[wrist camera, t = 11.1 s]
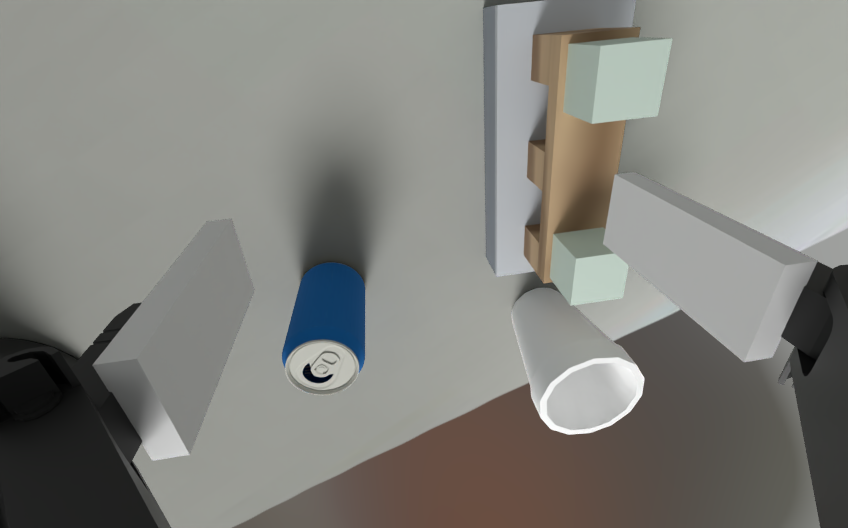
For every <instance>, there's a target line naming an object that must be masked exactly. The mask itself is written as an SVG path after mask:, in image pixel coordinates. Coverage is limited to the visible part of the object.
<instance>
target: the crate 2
mask: <svg viewBox="0 0 848 528" xmlns="http://www.w3.org/2000/svg"><path fill="white" fill-rule="evenodd" d="M604 235H605V229H604V228H603V227H601V228H594V229H586V230H579V231H571V232H564V233H556V234H553V243H552V255H551V267H550V279H551V280H552V281H553V283H554V284H555V285H556V287H557V288H558V289H559V291H560V292H561V293H562V295H563V296H564V298H565V299H566V300H567V302H568V303H569V304H570V306H572V305H579V304H586V303H593V302H600V301H606V300H613V299H620V298H623V293H624V288H625V283H626V278H627V272H628V267H629V265H628V264H626V263H625V262H624V261H623V260H622V259H621V258H619V257H618V256H617V255H616V254H615V253H613V252H612V251H611V250H610V249H609V248H607V247H606V246H605V245H604V244H603V241H604Z"/></svg>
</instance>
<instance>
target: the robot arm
mask: <svg viewBox="0 0 848 528" xmlns="http://www.w3.org/2000/svg"><path fill="white" fill-rule="evenodd" d="M603 244H604V245H605V246H606V247H607V248H609V249H610V250H611V251H612V252H613V253H615V254H616V255H617V256H618V257H619V258H621V259H622V260H623V261H624V262H625V263H626V264H628V265H629V266H630V267H631V268H632V269H634V270H635V271H636V272H637V273H638V274H640V275H641V276H642V277H643V278H644V279H646V280H647V281H648V282H649V283H650V284H652V285H653V286H654V287H655V288H656V289H657V290H659V291H660V292H661V293H662V294H663V295H665V296H666V297H667V298H668V299H669V300H671V301H672V302H673V303H674V304H675V305H677V306H678V307H679V308H680V309H681V310H683V311H684V312H685V313H686V314H687V315H689V316H690V317H691V318H692V319H693V320H694V321H696V322H697V323H698V324H699V325H701V326H702V327H703V328H704V329H705V330H707V331H708V332H709V333H710V334H711V335H712V336H714V337H715V338H716V339H717V340H718V341H719V342H721V343H722V344H723V345H724V346H725V347H727V348H728V349H729V350H730V351H732V352H733V353H734V354H735V355H736V356H737V357H739V358H740V359H741V360H742V361H743V362H748V361H754V360H760V359H766V358H772V357H773V355H774V353H775V350H776V349H777V346H778V344H779V342H780V340H781V338H782V337H783V338H784V339H785V340H787V341H788V342H790V343H791V344H792V345H794V346H795V347H794V349H793V351H792V353H791V355H790V357H789V359H788V361H787V363H786V365H785V367H784V369H783V371H782V373H781V375H780V377H779V380H778V383H779V384H782V385H783V384H784V383H785V381H786V379H788V378H791V377H792V378H793V385H792V387H793V388H795V394H796V398H797V404H798V410H799V415H800V421H801V426H802V431H803V437H804V442H805V447H806V453H807V458H808V463H809V468H810V474H811V479H812V485H813V490H814V495H815V501H816V506H817V511H818V517H819V522H820V527H821V528H848V265H840V266H838V267H835V268H834V269H832V268H830V267H828V266H826V265H823V264H822V263H819V262H818V261H817V260H815V259H813V258H811V257H809V256H807V255H805V254H803V253H801V252H799V251H797V250H795V249H793V248H791V247H788V246H786V245H784V244H782V243H780V242H778V241H776V240H774V239H772V238H770V237H768V236H766V235H764V234H762V233H760V232H758V231H756V230H753V229H751V228H749V227H747V226H745V225H743V224H741V223H739V222H737V221H735V220H733V219H731V218H729V217H727V216H725V215H723V214H721V213H719V212H716V211H714V210H712V209H710V208H708V207H706V206H704V205H702V204H700V203H698V202H696V201H694V200H692V199H690V198H688V197H686V196H684V195H681V194H679V193H677V192H675V191H673V190H671V189H669V188H667V187H665V186H663V185H661V184H659V183H657V182H655V181H653V180H651V179H649V178H647V177H644V176H642V175H640V174H638V173H636V172H630V173H621V174H615V176H614V181H613V187H612V193H611V199H610V205H609V211H608V217H607V223H606V229H605V235H604V241H603ZM254 290H255V289H254V286H253V283H252V280H251V277H250V274H249V271H248V268H247V265H246V261H245V258H244V255H243V252H242V249H241V246H240V243H239V240H238V237H237V234H236V231H235V228H234V225H233V221H232V219H224V220H215V221H207V222H206V223H205V225H204V226H203V227H202V228H201V230H200V231H199V232H198V233H197V235H196V236H195V237H194V238H193V240H192V241H191V242H190V243H189V245H188V246H187V247H186V248H185V250H184V251H183V252H182V253H181V255H180V256H179V257H178V258H177V260H176V261H175V262H174V263H173V265H172V266H171V267H170V268H169V270H168V271H167V272H166V273H165V275H164V276H163V277H162V278H161V280H160V281H159V282H158V283H157V285H156V286H155V287H154V288H153V290H152V291H151V292H150V293H149V295H148V296H147V297H146V298H145V300H144V301H143V302H142V303H136V304H133V305H131V306H130V307H128V308H127V309H125V310H124V311H123V312H121V313H120V314H118V315H117V316H115V317H114V319H113V320H112V321H111V322H110V323H109V324H108V326H107V327H106V328H105V329H104V330H103V333H101V334H100V335H99V336H98V337H97V338H96V340H95V341H94V342H93V343H94V345H91V346H90V347H89V348H88V349H87V350H86V351H85V353H84V354H83V355H82V356H81V357H80V358H79V360H77V359H75V358H73V357H72V356H70V355H68V354H66V353H64V352H62V351H59V350H57V349H55V348H54V347H49V346H46V345H42V344H39V343H35V342H31V341H25V340H19V339H6V338H0V528H171V527H170V525H169V523H168V521H167V519H166V518H165V516H164V514H163V512H162V511H161V509H160V507H159V505H158V504H157V502H156V500H155V498H154V497H153V495H152V493H151V491H150V489H149V488H148V486H147V484H146V482H145V481H144V479H143V477H142V475H141V474H140V472H139V470H138V468H137V467H136V465H135V464H134V462H133V461H132V460H133V458H134V456H135V454H136V452H137V450H138V448H139V446H140V445H141V443H142V445H143V447H144V448H145V450H146V451H147V453H148V454H149V456H150V458H151V459H152V461H154V460H160V459H166V458H172V457H178V456H184V455H190V452H191V450H192V447H193V445H194V442H195V440H196V437H197V435H198V432H199V430H200V427H201V425H202V422H203V420H204V417H205V414H206V412H207V409H208V407H209V404H210V402H211V399H212V397H213V394H214V392H215V389H216V387H217V384H218V382H219V379H220V377H221V374H222V371H223V369H224V366H225V364H226V361H227V359H228V356H229V354H230V351H231V349H232V346H233V344H234V341H235V339H236V336H237V333H238V331H239V328H240V326H241V323H242V321H243V318H244V316H245V313H246V311H247V308H248V306H249V303H250V301H251V298H252V295H253V293H254Z"/></svg>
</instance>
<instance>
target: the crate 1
mask: <svg viewBox="0 0 848 528" xmlns="http://www.w3.org/2000/svg"><path fill="white" fill-rule="evenodd" d="M672 39H673V38H639V37H629V38H620V39H610V40H601V41H591V42H582V43H572V44H568V57H567V69H566V82H565V94H564V106H563V112H564V113H566V114H569V115H571V116H574V117H576V118H579V119H581V120H583V121H586V122H588V123H591V124H595V123H604V122H612V121H620V120H629V119H637V118H646V117H654V116H658V111H659V106H660V101H661V96H662V91H663V86H664V80H665V75H666V70H667V65H668V60H669V54H670V49H671V44H672Z"/></svg>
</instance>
